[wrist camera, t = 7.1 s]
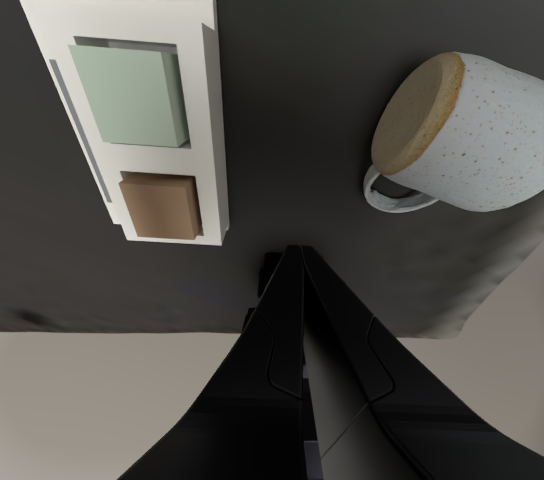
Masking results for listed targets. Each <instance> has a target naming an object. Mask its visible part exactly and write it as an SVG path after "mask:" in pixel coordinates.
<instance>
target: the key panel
mask: <svg viewBox="0 0 544 480" xmlns="http://www.w3.org/2000/svg"><path fill="white" fill-rule="evenodd" d="M20 2H21V5H22V7H23V9H24V12H25V14H26V17H27V19H28V21H29V24H30V26H31V28H32V31H33V33H34V36H35V38H36V40H37V43H38V45H39V47H40V50H41V52H42V54H43V57H44V59H45V62H46V64H47V66H48V69H49V71H50V73H51V76H52V78H53V81H54V83H55V85H56V88H57V90H58V92H59V95H60V97H61V100H62V102H63V104H64V107H65V109H66V111H67V114H68V116H69V119H70V121H71V123H72V126H73V128H74V130H75V133H76V135H77V138H78V140H79V142H80V145H81V147H82V149H83V152H84V154H85V157H86V159H87V161H88V164H89V166H90V168H91V171H92V173H93V176H94V178H95V180H96V183H97V185H98V187H99V190H100V192H101V194H102V197H103V199H104V202H105V204H106V206H107V209H108V211H109V213H110V216H111V218H112V221H113V223H114V224H121V225H122V228H123V230H124V233H125V235H126V238H127V240H136V241H153V242H171V243H188V244H205V245H222V242H223V239H224V236H225V233H226V230H227V231H228V228H229V208H228V191H227V175H226V158H225V141H224V124H223V107H222V90H221V73H220V56H219V40H218V23H217V6H216V0H20ZM68 45H80V46H93V47H105V48H118V49H131V50H143V51H156V52H164V53H171V54H177V55H178V59H179V66H180V73H181V80H182V87H183V94H184V101H185V108H186V115H187V122H188V129H189V136H190V138H189V139H188V140H186V141H185V142H184V143H182V144H181V145H180V146H179V147H168V146H154V145H139V144H125V143H110V142H103V141H102V138H101V135H100V133H99V130H98V127H97V124H96V122H95V119H94V116H93V113H92V111H91V108H90V105H89V102H88V99H87V97H86V94H85V91H84V88H83V86H82V83H81V80H80V77H79V75H78V72H77V69H76V66H75V64H74V61H73V58H72V55H71V53H70V50H69V47H68ZM133 172H145V173H160V174H176V175H191V176H195V177H196V184H197V191H198V198H199V205H200V212H201V219H202V226H201V228H200V230H199V232H198V234H197V236H196V238H195V240H183V239H166V238H149V237H138V236H137V234H136V231H135V228H134V225H133V222H132V220H131V217H130V214H129V211H128V209H127V206H126V203H125V200H124V198H123V195H122V192H121V189H120V187H119V184H118V183H119V182H121V181H122V180H124V179H125V178H126V177H128V176H129V175H131V174H132V173H133Z"/></svg>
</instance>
